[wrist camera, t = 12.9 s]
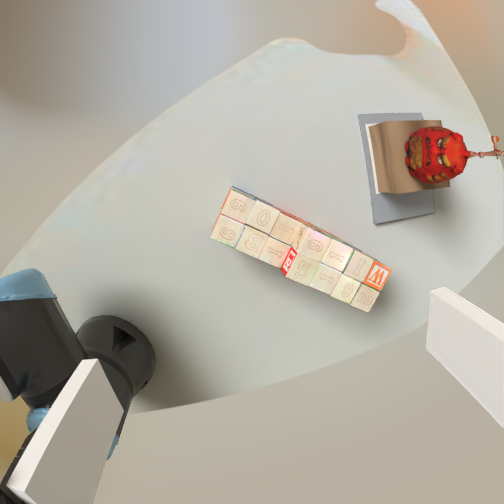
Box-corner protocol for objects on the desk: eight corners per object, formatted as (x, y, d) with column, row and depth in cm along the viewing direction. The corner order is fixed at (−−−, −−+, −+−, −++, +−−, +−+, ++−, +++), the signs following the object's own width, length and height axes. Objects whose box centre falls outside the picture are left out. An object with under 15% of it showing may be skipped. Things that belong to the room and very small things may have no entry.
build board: (373, 223, 46) (376, 223, 45) (357, 115, 41) (359, 114, 40) (431, 212, 46) (434, 212, 45) (419, 113, 42) (421, 112, 41)
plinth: (378, 191, 43) (397, 193, 38) (368, 126, 41) (386, 121, 35) (427, 184, 44) (449, 186, 38) (419, 124, 41) (440, 120, 35)
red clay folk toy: (398, 127, 35) (472, 113, 21) (437, 130, 36) (511, 123, 21) (402, 182, 37) (477, 191, 23) (440, 182, 38) (515, 192, 23)
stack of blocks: (213, 224, 44) (207, 243, 32) (231, 185, 43) (232, 188, 31) (337, 281, 48) (369, 314, 36) (356, 247, 46) (394, 270, 35)
